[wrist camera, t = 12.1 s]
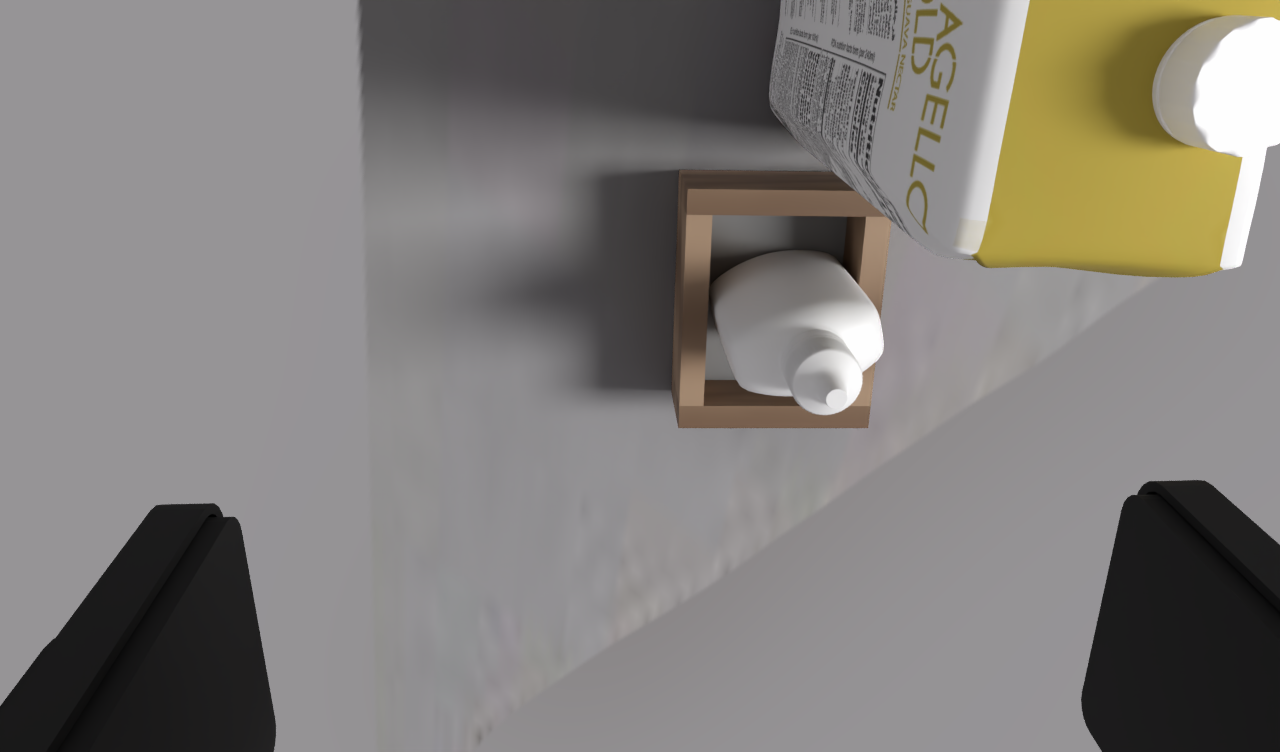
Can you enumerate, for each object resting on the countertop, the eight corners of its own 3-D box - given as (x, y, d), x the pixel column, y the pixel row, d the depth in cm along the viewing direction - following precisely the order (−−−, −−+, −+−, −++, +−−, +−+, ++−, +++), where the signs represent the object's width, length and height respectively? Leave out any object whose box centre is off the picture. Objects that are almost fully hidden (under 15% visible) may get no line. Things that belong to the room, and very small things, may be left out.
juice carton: (936, 144, 43) (1307, 334, 21) (749, 134, 43) (924, 317, 20) (976, -101, 40) (1472, -186, 17) (774, -115, 39) (1018, -223, 17)
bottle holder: (679, 169, 43) (687, 188, 39) (868, 172, 43) (894, 191, 40) (671, 391, 47) (678, 428, 43) (845, 391, 47) (868, 428, 43)
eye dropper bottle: (819, 351, 45) (895, 477, 34) (696, 321, 44) (732, 440, 33) (852, 257, 44) (943, 357, 32) (725, 224, 43) (774, 315, 32)
